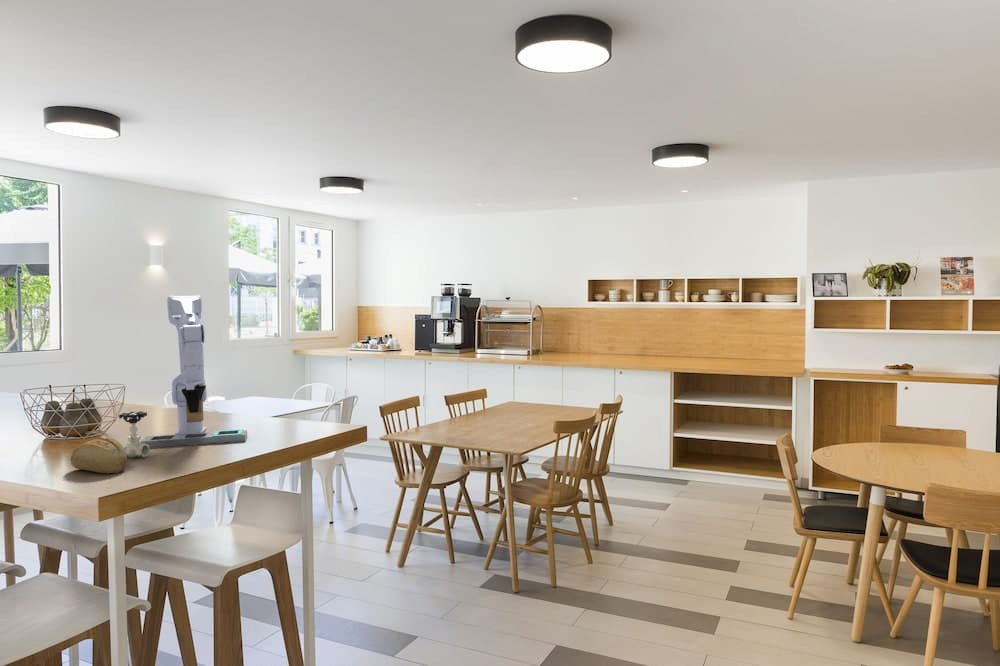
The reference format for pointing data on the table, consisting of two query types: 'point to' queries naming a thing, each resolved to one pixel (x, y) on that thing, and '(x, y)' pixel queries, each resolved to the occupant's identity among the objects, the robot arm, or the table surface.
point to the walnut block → (195, 416)
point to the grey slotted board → (195, 438)
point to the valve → (134, 436)
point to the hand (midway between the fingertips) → (194, 411)
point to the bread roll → (100, 456)
